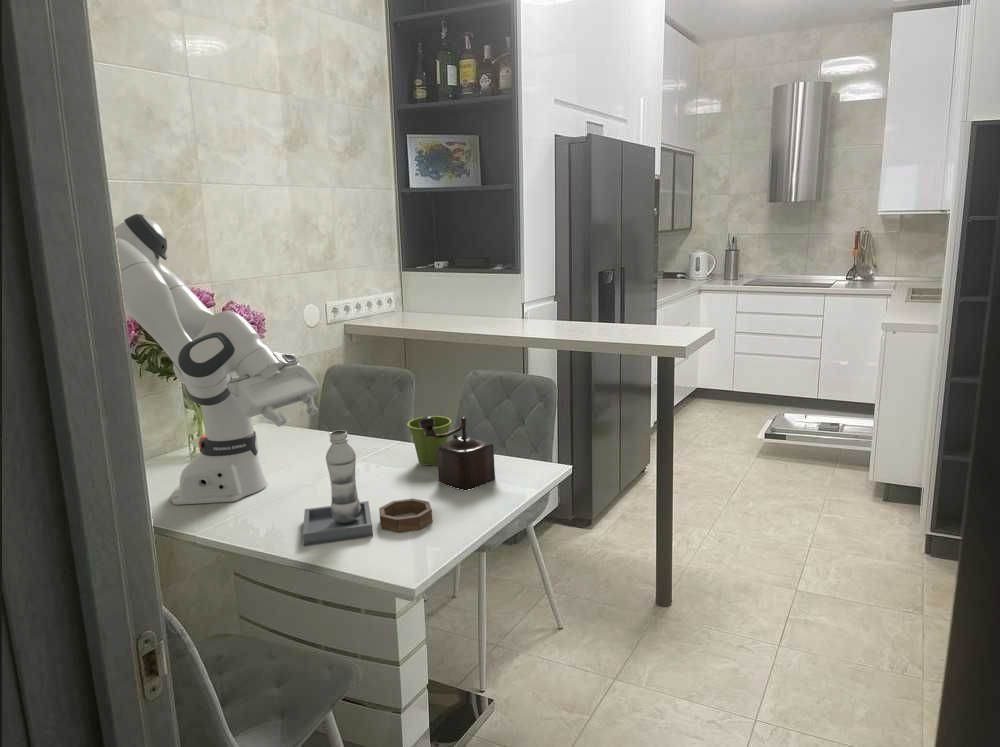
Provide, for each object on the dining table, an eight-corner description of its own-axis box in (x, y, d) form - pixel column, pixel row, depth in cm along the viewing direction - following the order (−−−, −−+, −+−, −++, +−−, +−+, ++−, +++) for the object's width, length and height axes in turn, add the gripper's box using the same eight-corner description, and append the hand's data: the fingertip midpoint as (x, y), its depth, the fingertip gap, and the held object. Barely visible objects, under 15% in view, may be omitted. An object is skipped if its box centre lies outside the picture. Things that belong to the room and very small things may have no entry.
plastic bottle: (332, 528, 158) (323, 438, 154) (331, 517, 165) (322, 430, 160) (362, 524, 160) (354, 435, 155) (361, 513, 166) (353, 426, 162)
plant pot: (401, 464, 200) (397, 424, 198) (430, 452, 209) (428, 414, 207) (433, 472, 193) (430, 430, 191) (462, 459, 202) (460, 419, 200)
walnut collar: (382, 535, 156) (381, 521, 155) (379, 515, 166) (378, 502, 166) (434, 528, 158) (433, 514, 157) (427, 509, 168) (427, 496, 168)
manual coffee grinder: (466, 470, 193) (462, 403, 189) (496, 479, 185) (492, 409, 182) (420, 487, 182) (414, 417, 179) (450, 498, 175) (445, 424, 171)
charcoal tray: (304, 546, 152) (302, 534, 152) (305, 520, 166) (304, 509, 165) (373, 536, 155) (372, 524, 155) (369, 511, 169) (368, 501, 168)
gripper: (229, 371, 152) (268, 422, 149) (301, 353, 169) (337, 398, 166) (217, 390, 155) (255, 440, 152) (288, 371, 172) (324, 416, 169)
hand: (299, 418), depth 159 cm, fingers open, 8 cm apart
